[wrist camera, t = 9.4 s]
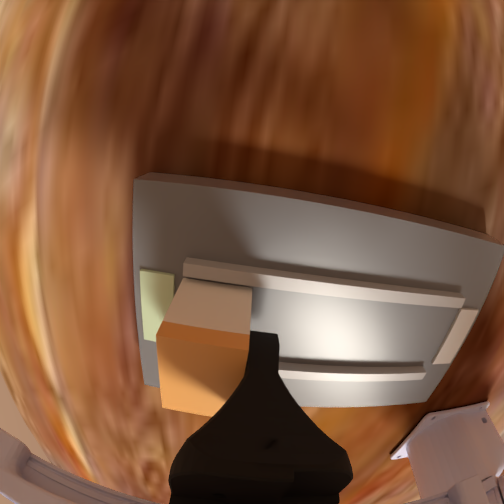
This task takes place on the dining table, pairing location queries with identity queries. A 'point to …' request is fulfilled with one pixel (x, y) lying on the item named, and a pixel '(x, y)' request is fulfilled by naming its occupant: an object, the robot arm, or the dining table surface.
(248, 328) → the block
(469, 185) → the dining table surface
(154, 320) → the panel
